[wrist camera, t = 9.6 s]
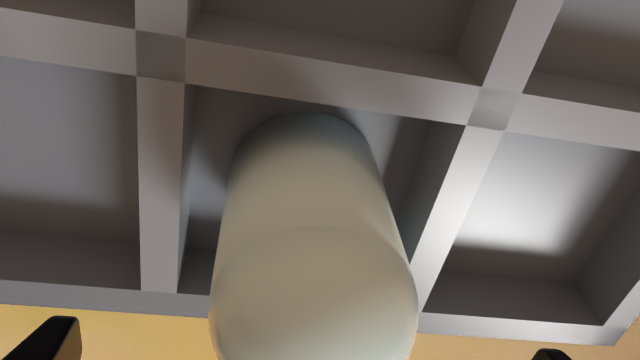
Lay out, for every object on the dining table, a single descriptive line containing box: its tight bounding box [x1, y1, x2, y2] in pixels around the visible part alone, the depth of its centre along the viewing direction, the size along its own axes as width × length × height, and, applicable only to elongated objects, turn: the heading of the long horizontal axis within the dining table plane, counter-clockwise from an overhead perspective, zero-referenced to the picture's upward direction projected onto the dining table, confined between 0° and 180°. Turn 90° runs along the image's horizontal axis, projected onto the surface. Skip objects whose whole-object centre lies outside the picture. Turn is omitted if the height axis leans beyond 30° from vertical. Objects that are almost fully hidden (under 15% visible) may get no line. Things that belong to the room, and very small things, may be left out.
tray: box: [0, 0, 640, 346], centre depth 11 cm, size 24×16×2 cm
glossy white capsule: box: [208, 111, 419, 360], centre depth 11 cm, size 4×4×7 cm
